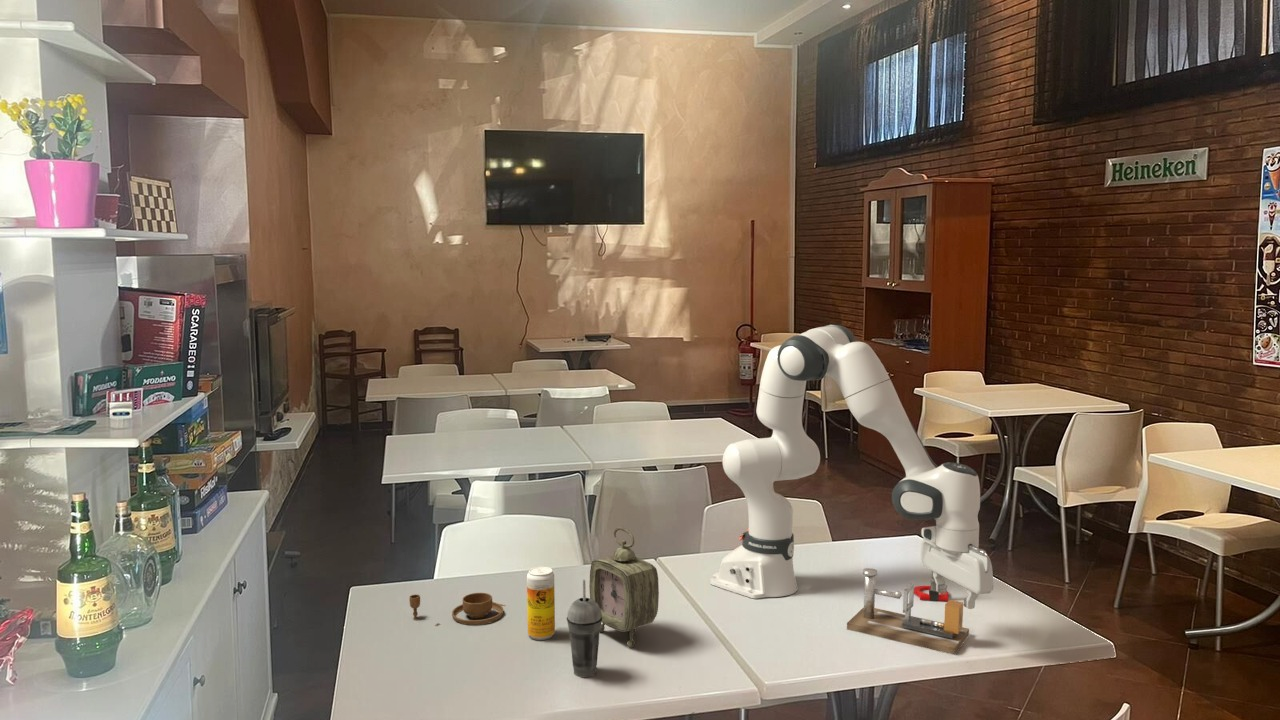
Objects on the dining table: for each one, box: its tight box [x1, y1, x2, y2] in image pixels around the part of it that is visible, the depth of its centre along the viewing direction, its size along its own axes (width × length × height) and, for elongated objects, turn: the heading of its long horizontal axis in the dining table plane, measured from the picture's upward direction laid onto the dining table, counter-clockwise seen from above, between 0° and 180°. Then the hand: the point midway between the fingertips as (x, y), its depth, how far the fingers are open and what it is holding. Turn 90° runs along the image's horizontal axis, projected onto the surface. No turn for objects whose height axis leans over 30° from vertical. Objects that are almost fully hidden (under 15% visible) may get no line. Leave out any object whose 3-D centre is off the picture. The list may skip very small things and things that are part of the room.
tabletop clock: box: [589, 526, 660, 648], centre depth 200 cm, size 14×9×25 cm, turn 40°
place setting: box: [409, 592, 506, 627], centre depth 214 cm, size 18×20×6 cm
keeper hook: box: [862, 567, 903, 619], centre depth 206 cm, size 9×3×11 cm, turn 56°
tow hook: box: [914, 570, 949, 602], centre depth 226 cm, size 8×13×9 cm
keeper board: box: [846, 606, 970, 655], centre depth 203 cm, size 24×12×2 cm, turn 57°
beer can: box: [526, 566, 556, 641], centre depth 201 cm, size 6×6×15 cm
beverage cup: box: [566, 579, 602, 678], centre depth 183 cm, size 7×7×20 cm
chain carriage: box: [902, 582, 964, 639], centre depth 200 cm, size 12×5×9 cm, turn 57°
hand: (955, 599), depth 197 cm, fingers open, 8 cm apart
